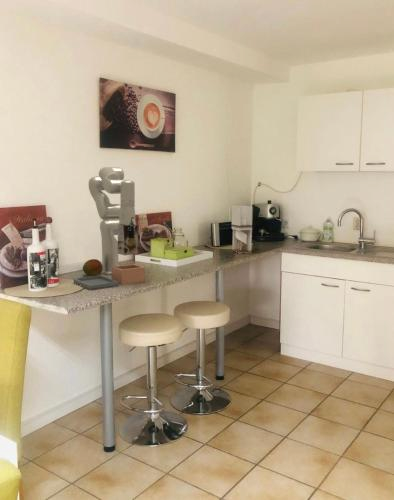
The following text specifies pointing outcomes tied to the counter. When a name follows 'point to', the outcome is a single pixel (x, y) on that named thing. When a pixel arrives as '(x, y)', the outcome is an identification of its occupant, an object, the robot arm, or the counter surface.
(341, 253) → the counter surface
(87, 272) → the fruit
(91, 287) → the tray
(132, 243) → the coffee box
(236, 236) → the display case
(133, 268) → the terracotta open box
